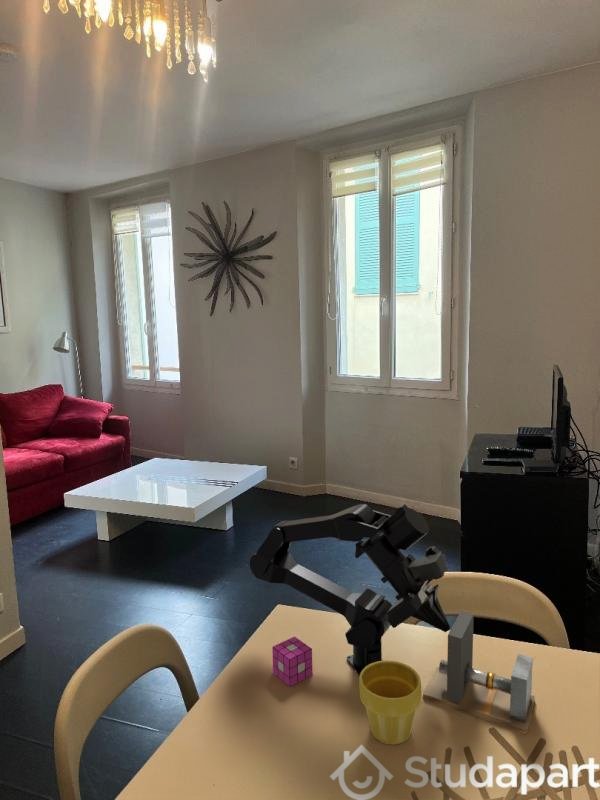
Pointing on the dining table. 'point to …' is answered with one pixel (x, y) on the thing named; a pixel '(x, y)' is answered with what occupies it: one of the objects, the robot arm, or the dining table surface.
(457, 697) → the grey flat slab
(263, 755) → the dining table surface
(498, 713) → the clear base plate
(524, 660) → the metal rod with plate
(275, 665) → the puzzle toy
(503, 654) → the dining table surface
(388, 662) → the yellow cup
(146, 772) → the dining table surface
